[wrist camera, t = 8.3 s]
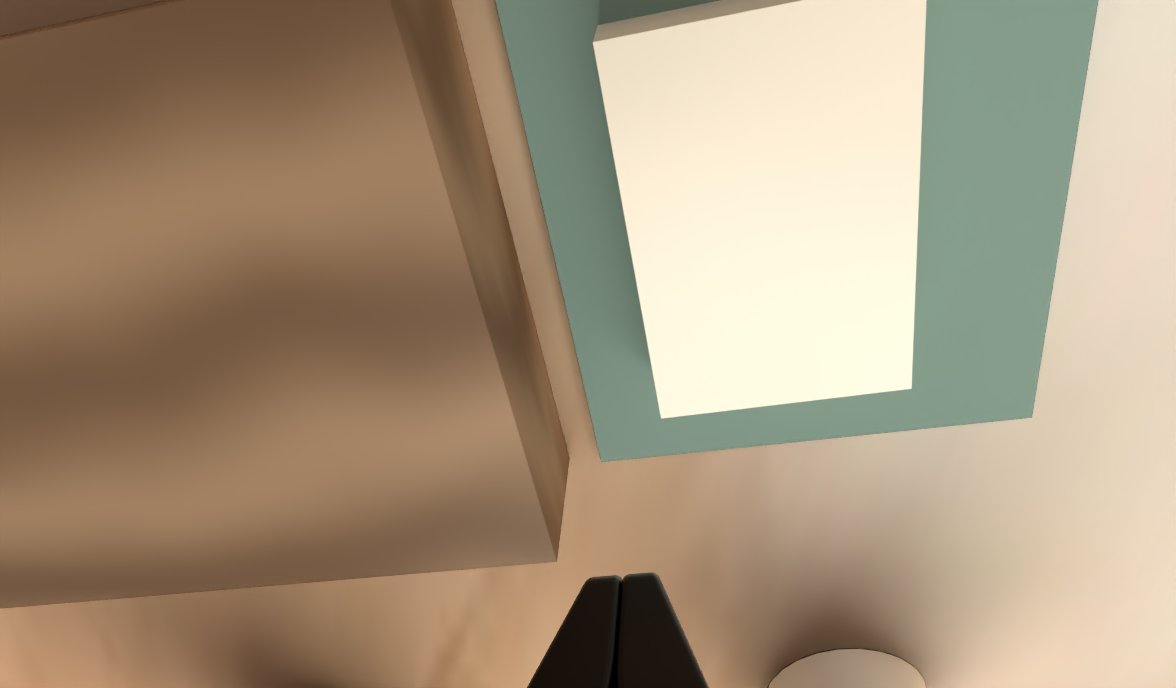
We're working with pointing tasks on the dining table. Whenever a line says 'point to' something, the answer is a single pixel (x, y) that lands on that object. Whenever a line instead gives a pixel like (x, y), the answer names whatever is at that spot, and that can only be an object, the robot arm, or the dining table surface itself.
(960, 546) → the dining table surface
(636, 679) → the robot arm
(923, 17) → the cream rectangular tile
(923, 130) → the mat
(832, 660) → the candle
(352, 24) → the brown wooden flat block
